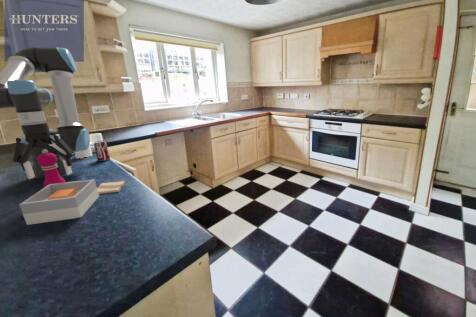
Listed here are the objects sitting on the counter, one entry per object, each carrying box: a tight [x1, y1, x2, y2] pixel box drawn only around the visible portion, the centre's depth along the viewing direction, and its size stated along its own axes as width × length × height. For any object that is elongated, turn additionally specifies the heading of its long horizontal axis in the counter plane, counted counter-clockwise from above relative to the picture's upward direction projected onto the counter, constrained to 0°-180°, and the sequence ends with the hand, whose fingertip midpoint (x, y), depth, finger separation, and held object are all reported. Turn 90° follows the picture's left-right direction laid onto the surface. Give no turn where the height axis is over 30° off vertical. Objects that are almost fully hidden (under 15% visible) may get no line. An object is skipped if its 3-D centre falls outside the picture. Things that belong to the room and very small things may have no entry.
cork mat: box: [97, 180, 126, 195], centre depth 97 cm, size 10×10×1 cm
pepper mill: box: [37, 149, 67, 188], centre depth 90 cm, size 7×7×20 cm
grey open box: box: [18, 178, 100, 226], centre depth 80 cm, size 16×16×8 cm
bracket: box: [74, 132, 104, 159], centre depth 155 cm, size 25×10×12 cm, turn 4°
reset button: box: [48, 188, 77, 200], centre depth 80 cm, size 6×6×4 cm
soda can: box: [94, 139, 111, 162], centre depth 137 cm, size 7×7×12 cm
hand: (51, 175), depth 89 cm, fingers open, 13 cm apart
